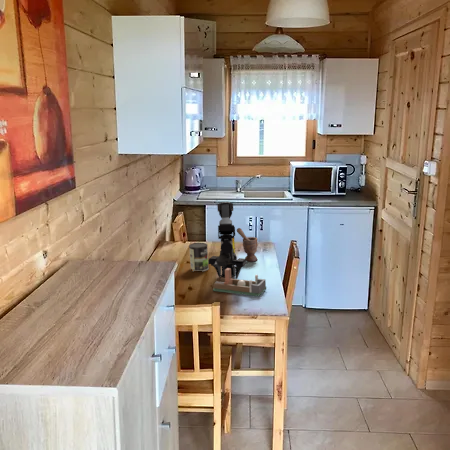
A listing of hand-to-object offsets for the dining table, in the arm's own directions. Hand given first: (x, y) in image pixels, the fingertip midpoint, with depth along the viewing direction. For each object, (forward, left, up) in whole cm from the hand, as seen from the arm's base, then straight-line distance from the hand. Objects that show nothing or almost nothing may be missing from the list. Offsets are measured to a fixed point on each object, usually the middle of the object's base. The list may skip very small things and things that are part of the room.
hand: (228, 277), depth 242 cm
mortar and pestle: (-7, +45, -6) cm, 46 cm away
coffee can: (-28, +23, -6) cm, 37 cm away
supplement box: (-23, +53, -6) cm, 58 cm away
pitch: (+6, 0, -6) cm, 8 cm away
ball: (+7, 0, -2) cm, 7 cm away
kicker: (-3, 0, -4) cm, 5 cm away
